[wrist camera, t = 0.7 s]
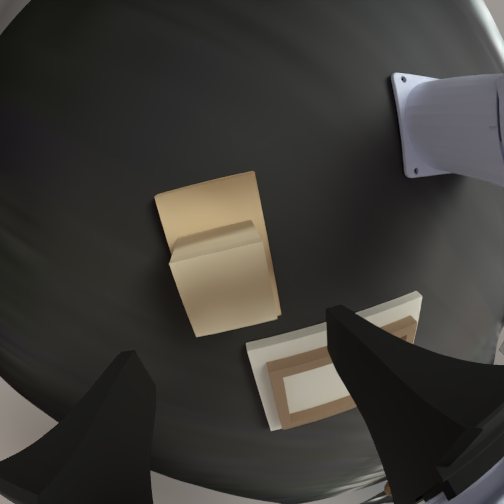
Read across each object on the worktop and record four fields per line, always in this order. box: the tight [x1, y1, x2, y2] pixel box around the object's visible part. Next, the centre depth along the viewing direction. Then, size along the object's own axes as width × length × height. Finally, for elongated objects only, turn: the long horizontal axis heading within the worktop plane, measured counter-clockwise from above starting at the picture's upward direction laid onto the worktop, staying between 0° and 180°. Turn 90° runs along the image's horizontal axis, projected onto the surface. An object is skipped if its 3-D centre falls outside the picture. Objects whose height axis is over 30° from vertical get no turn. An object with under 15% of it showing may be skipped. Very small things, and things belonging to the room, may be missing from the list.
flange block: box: [155, 171, 281, 337], centre depth 16 cm, size 10×6×5 cm, turn 11°
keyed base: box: [246, 291, 422, 431], centre depth 23 cm, size 16×13×2 cm
